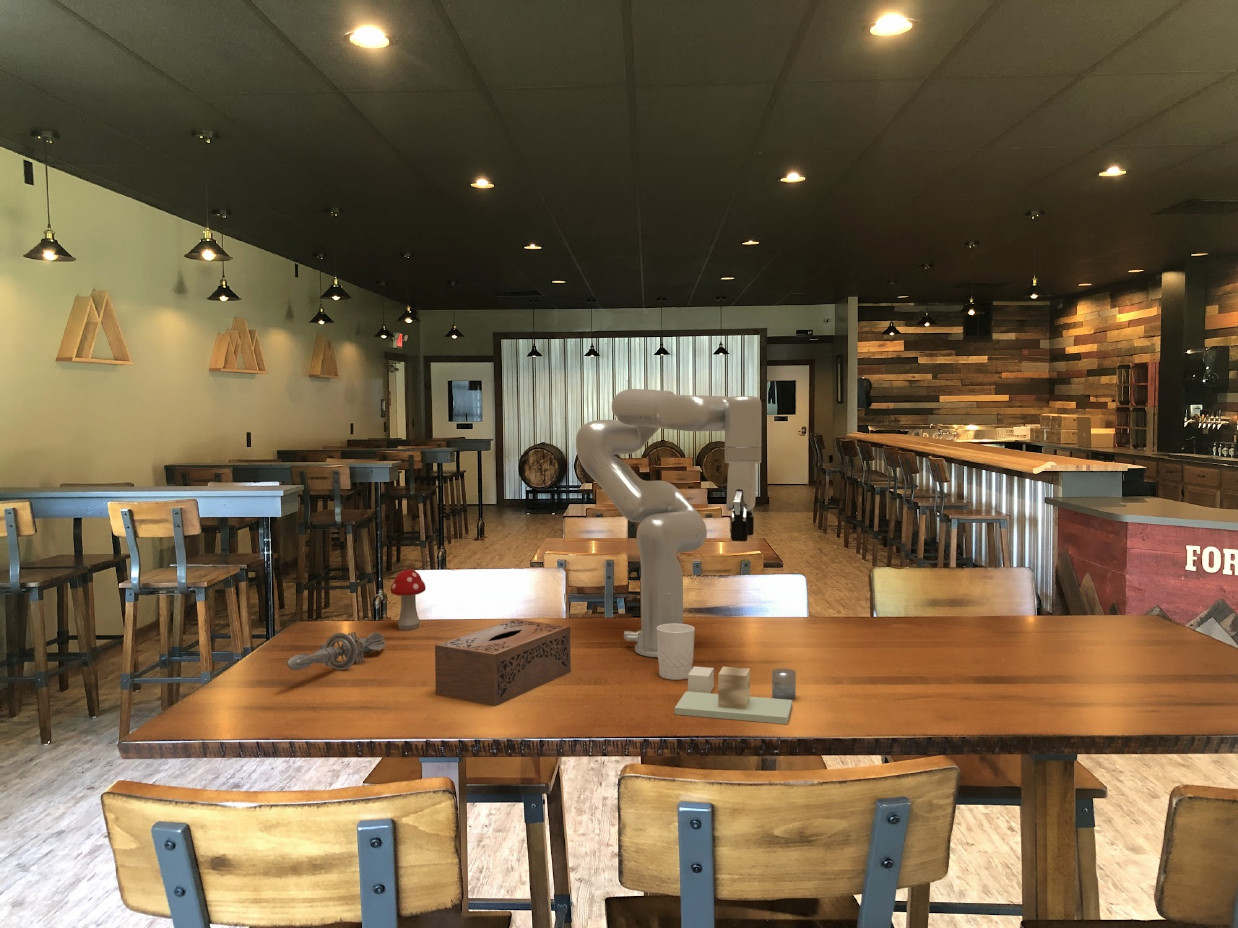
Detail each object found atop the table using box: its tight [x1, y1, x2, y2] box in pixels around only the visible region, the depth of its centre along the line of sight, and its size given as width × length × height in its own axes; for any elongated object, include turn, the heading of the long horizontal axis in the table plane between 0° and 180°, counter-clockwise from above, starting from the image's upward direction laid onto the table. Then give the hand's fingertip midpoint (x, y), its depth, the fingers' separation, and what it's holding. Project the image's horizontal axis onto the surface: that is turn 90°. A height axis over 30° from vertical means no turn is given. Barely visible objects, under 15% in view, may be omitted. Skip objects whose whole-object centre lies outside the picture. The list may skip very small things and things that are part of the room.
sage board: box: [674, 690, 793, 725], centre depth 162 cm, size 20×10×1 cm, turn 74°
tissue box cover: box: [434, 618, 572, 707], centre depth 179 cm, size 26×14×10 cm, turn 150°
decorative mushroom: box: [390, 568, 426, 631], centre depth 227 cm, size 10×9×15 cm
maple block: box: [717, 666, 751, 709], centre depth 162 cm, size 5×5×6 cm
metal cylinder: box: [771, 668, 797, 702], centre depth 169 cm, size 4×4×5 cm
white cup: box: [657, 623, 695, 681], centre depth 184 cm, size 8×8×10 cm
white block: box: [687, 666, 715, 693], centre depth 174 cm, size 4×6×4 cm, turn 164°
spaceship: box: [287, 631, 387, 671], centre depth 189 cm, size 8×35×8 cm
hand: (742, 537), depth 185 cm, fingers open, 9 cm apart
